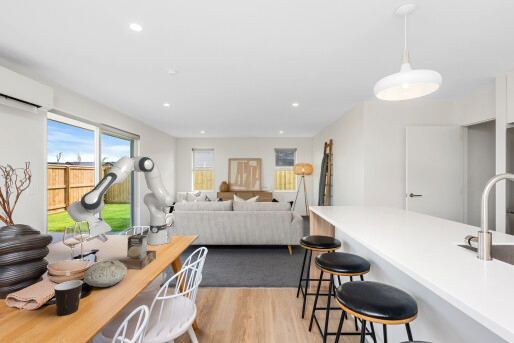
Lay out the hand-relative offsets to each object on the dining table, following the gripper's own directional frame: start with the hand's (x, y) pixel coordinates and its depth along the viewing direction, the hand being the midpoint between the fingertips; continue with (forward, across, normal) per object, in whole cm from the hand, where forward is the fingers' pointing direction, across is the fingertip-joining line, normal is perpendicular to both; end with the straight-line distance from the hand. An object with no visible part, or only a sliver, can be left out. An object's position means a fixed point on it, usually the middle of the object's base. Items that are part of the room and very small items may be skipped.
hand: (105, 240), depth 147 cm
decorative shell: (+22, -28, -4) cm, 36 cm away
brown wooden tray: (+22, -1, -2) cm, 22 cm away
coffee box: (+23, 0, -4) cm, 23 cm away
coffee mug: (+22, -54, -5) cm, 59 cm away
